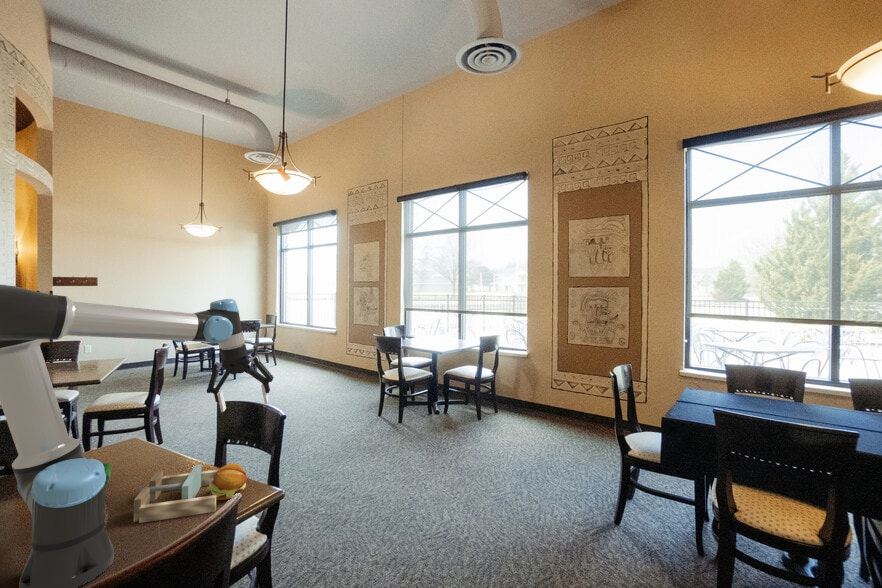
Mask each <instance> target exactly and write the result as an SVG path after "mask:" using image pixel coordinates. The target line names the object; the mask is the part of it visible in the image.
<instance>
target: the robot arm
mask: <svg viewBox="0 0 882 588" xmlns="http://www.w3.org/2000/svg"><path fill="white" fill-rule="evenodd" d="M241 322H242V321H241V317H240V310H239V307H238V304H237V302H236V300H235V299H233V298H224V299H219V300H214V301H212V302H210V304H209V309H207V310H202V311H198V312H193V313H190V312H182V311H181V312H180V311H171V310H170V311H169V310H161V309H152V308H151V309H150V308H141V307H134V306H133V307H132V306H131V307H130V306H121V305H112V304H102V303H101V304H100V303H92V302H83V301H72V299H70V297H68V296H66V295H57V294H50V293H45V292H41V291H36V290H31V289H28V288H27V289H26V288H24V287H19V286H16V285H8V284H0V404H1V405H0V406H1V408H2V412H3V413H4V417H5V419H6V423H7V425H8V426H7V427H8V428H9V431H10V434H11V437H12V440H13V442H14V445H15V449H16V452H17V454H18V455H17V457H16V458H15V459H14V460H13V462H12V463H11V467H12V468H11V469H12V470H13V471H12V472H13V474H14V476H15V479H16V483H17V485H16V488H17V491H18V493H19V495H20V497H21V498H22V499H23V500H24V502H25V504H26V506H27V508H28V510H29V512H30V514H31V551H30V553H29V556H28V558H27V561H26V563H25V566H24V568H23V570H22V573H21V575H20V578H19V581H18V583H19V584H18V588H77V587H79V586H81V585H83V584H84V583H86V582H89V583H90V582H92V581H94V580H96V579H97V578H96V576H98V575H99V574H101V573H102V572H104V571H105V570H106V569H107V568H108V567H109V566H110V565H112V564H113V562H114V559H115V548H114V545H113V542H112V541H111V539H110V537H109V534H108V532H107V531H106V528H105V512H106V511H105V510H106V509H105V507H106V506H105V502H106V499H105V497H106V496H105V495H106V486H105V482H106V473H105V469H104V466H103V464H102V463H103V462H101V461H100V460H98V459H95V458H89V459H87V458H86V457H85V454H84V452H83V448H82V445H81V442H80V440H79V439H76V438H73V437H70V436H69V433H68V430H67V427H66V424H65V421H64V418H63V415H62V412H61V408H60V406H59V405H60V404H59V402H58V398H57V396H56V393H55V392H56V391H55V390H54V387H53V384H52V381H51V377H50V374H49V370H48V368H47V365H46V362H45V357H44V355H43V351H42V349H41V344H42V343H43V342H44V341H45V340H53V341H54V340H55V341H56V340H61V339H62V338H63V337H67V336H71V337H92V338H93V337H95V338H114V339H115V338H118V339H134V340H135V339H137V340H141V339H142V340H160V341H161V340H162V341H174V342H176V343H183V342H196V343H198V342H199V343H200V342H201V343H202V342H203V343H209V344H218V348H220V350H219V352H220V356H221V360H222V362H217V361H216V362H214V364H212V367H211V368H212V373H211V376H210V379H209V383H208V386H207V389H206V393H207V394H213V396H214V399H215V403H218V404H219V408H220V413H224V412H225V411H226V409H227V406H226V400H225V397H224V393H223V390H221V388H222V386H223V385H224V383H225V382H226V381H227V380H228V377H229V375H232V376H234V375H236V374H243V373H245V374H249V376H251V377H252V378H253V379H255V380H257V381H259V383H261V391H262V396H263V401H264V404H265V405H267V404H268V403H269V400H270V399H269V394H270V392H271V389H270V383H272V382H273V380H274V378H275V377H274V375H273V374H271V372H270V371H269V370H268V369H267V368H266V366H265V365H264V363H262V361H261V360H260V357H259V355H255V356H254V357H253V356H252V357H249V355H248V350H247V345H246V344H245V342H246V341H245V336H244V331H243V327H242V323H241ZM250 363H252V364H253V365H255V367H256V368H257V369H258V370H259V372H258V371H257V370H256V369H254V368H253V367H252V366H251V365H250ZM222 368H223V369H224V370H225V372H224V373H223V375H222V377H221V378H220V380H219V382H218V383H217V385H216V386H215V384H216V381H217V379H218V374H219V371H220V370H221V369H222ZM260 372H261V373H260ZM110 567H111V566H110ZM110 567H109V568H110ZM109 568H108V569H109ZM108 569H107V570H108ZM107 570H106V571H107ZM106 571H105V572H106ZM105 572H104V573H105ZM101 575H102V574H101ZM95 578H96V579H95ZM83 586H84V585H83ZM81 587H82V586H81ZM79 588H80V587H79Z"/></svg>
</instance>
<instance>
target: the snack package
mask: <svg viewBox="0 0 882 588" xmlns="http://www.w3.org/2000/svg"><path fill="white" fill-rule="evenodd" d="M101 463H102V464H103V466H104V469H105V473H106V482H105V487H107V485H108V484H109V482H110V479H111V476H112V475H111V473H112V463H111V462H101Z"/></svg>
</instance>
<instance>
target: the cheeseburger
mask: <svg viewBox="0 0 882 588" xmlns="http://www.w3.org/2000/svg"><path fill="white" fill-rule="evenodd" d="M217 470H218V471H217V472H216V474H215V475H214V480H212V482H211V483H210V485H208V490H209V496H212V495H216V501H225V500H230V499H232V498H231V497H232V496H233V495H235V494H236V493H240V494H241V493H243V491H244V489H246V487H247V480H248V476H247V473H246V471H245V470H244V469H243V467H242V466H241V465H240V464H238V463H235V462H234V463H232V462H231V463H227V464H225V465H224V466H222V467H220V468H219V469H217Z"/></svg>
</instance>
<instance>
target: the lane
mask: <svg viewBox="0 0 882 588" xmlns="http://www.w3.org/2000/svg"><path fill="white" fill-rule="evenodd" d="M218 470H219V469H212V470H205V471H201V487H204V486H209V485H210V483H211V482H212V480H214V475H215V474H216V472H217V471H218ZM190 473H191V472H186V473H179V474H171V475H164V471H162V470H160V471H156V473H155V474H154V475H153V476H152V477H151V478H150V480H149V484H148V485H149V486H148V487H154V486H162V485H170V484H178V483H184V482H185V481H186V479H187V478H188V476H189V474H190ZM145 488H146V487H145ZM180 489H181V490H182V488H178V489H177V490H180ZM173 490H176V489H171V490H170V491H173ZM165 491H167V492H168V490H163V491H155V492H150V488H146V489H143V490H142V491H141V492H140V491H139V493H138V494H137V496H136V497H135V498H134V499H133V523H135V522H138V523H139V524H143V523H148V522H155V521H162V520H169V519H175V518H183V517H189V516H195V515H202V514H207V513H208V514H210V513H214V512H216V510H217V500H216V495H212V496H210V495H206V496H199V497H195V498H191V499H183V500H182V499H177V500H169V501H163V502H155V503H150V502H154V501H157V499H158V498H159V496H160V495H161V493H162V492H165Z"/></svg>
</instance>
